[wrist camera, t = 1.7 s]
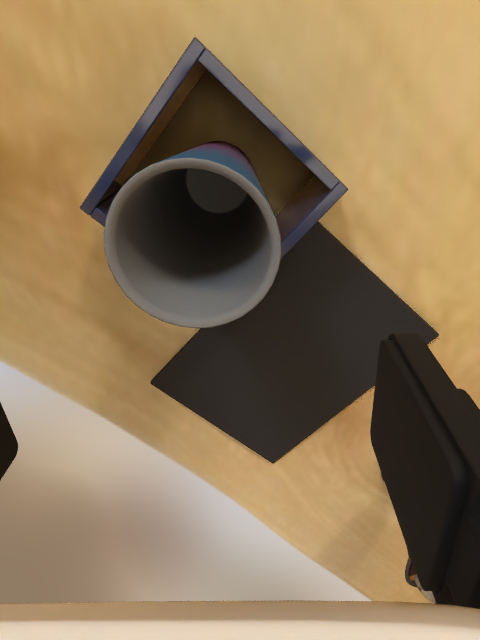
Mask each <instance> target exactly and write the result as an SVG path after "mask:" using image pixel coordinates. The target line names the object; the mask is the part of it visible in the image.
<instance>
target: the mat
mask: <svg viewBox="0 0 480 640" xmlns="http://www.w3.org/2000/svg"><path fill="white" fill-rule="evenodd" d="M409 332H417V333H418V334H419V335H420V336H421V338H422V339H423V341H424V342H425V344H426V345H427V344H428V343H430V342H431V341H432V340H434V339H435V338H436V337H437V336H439V334H438V333H437V332H436V331H435V330H434V329H433V328H432V327H431V326H430V325H428V324H427V323H426V322H425V321H424V320H423V319H422V318H421V317H420V316H419V315H418V314H417V313H416V312H414V311H413V310H412V309H411V308H410V307H409V306H408V305H407V304H406V303H405V302H404V301H403V300H402V299H401V298H399V297H398V296H397V295H396V294H395V293H394V292H393V291H392V290H391V289H390V288H389V287H388V286H387V285H385V284H384V283H383V282H382V281H381V280H380V279H379V278H378V277H377V276H376V275H375V274H374V273H373V272H372V271H370V270H369V269H368V268H367V267H366V266H365V265H364V264H363V263H362V262H361V261H360V260H359V259H358V258H356V257H355V256H354V255H353V254H352V253H351V252H350V251H349V250H348V249H347V248H346V247H345V246H344V245H343V244H341V243H340V242H339V241H338V240H337V239H336V238H335V237H334V236H333V235H332V234H331V233H330V232H329V231H327V230H326V229H325V228H324V227H323V226H322V225H321V224H320V223H319V222H318V221H317V222H316V223H315V224H314V225H313V227H312V228H311V229H310V230H309V231H308V232H307V233H306V234H305V235H304V236H303V237H302V238H301V239H300V240H299V241H298V242H297V243H296V244H295V245H294V246H293V247H292V248H291V249H290V250H289V251H288V252H287V253H286V254H285V255H284V256H283V257H282V258H281V260H280V263H279V269H278V272H277V274H276V277H275V280H274V282H273V284H272V286H271V287H270V289H269V291H268V292H267V294H266V295H265V297H264V298H263V299H262V300H261V301H260V302H259V303H258V304H257V305H256V306H255V307H254V308H253V309H252V310H250V311H249V312H247V313H246V314H245V315H243V316H242V317H240V318H238V319H236V320H233V321H231V322H229V323H226V324H222V325H219V326H215V327H207V328H201V329H200V330H199V331H198V332H197V333H196V334H195V335H194V336H193V337H192V339H191V340H190V341H189V342H188V343H187V344H186V345H185V346H184V347H183V348H182V349H181V350H180V351H179V352H178V353H177V354H176V355H175V356H174V357H173V358H172V360H171V361H170V362H169V363H168V364H167V365H166V366H165V367H164V368H163V369H162V370H161V371H160V372H159V373H158V374H157V375H156V376H155V377H154V378H153V379H152V381H151V384H152V385H154V386H155V387H157V388H158V389H160V390H161V391H163V392H164V393H166V394H167V395H169V396H170V397H172V398H173V399H175V400H176V401H178V402H180V403H181V404H183V405H184V406H186V407H187V408H189V409H190V410H192V411H193V412H195V413H196V414H198V415H199V416H201V417H202V418H204V419H206V420H207V421H209V422H210V423H212V424H213V425H215V426H216V427H218V428H219V429H221V430H222V431H224V432H225V433H227V434H228V435H230V436H232V437H233V438H235V439H236V440H238V441H239V442H241V443H242V444H244V445H245V446H247V447H248V448H250V449H251V450H253V451H254V452H256V453H258V454H259V455H261V456H262V457H264V458H265V459H267V460H268V461H270V462H271V463H275V462H276V461H277V460H278V459H280V458H281V457H282V456H284V455H285V454H286V453H288V452H289V451H290V450H291V449H293V448H294V447H295V446H297V445H298V444H299V443H300V442H302V441H303V440H304V439H306V438H307V437H308V436H309V435H311V434H312V433H313V432H315V431H316V430H317V429H319V428H320V427H321V426H322V425H324V424H325V423H326V422H328V421H329V420H330V419H331V418H333V417H334V416H335V415H337V414H338V413H339V412H341V411H342V410H343V409H344V408H346V407H347V406H348V405H350V404H351V403H352V402H353V401H355V400H356V399H357V398H359V397H360V396H361V395H362V394H364V393H365V392H366V391H368V390H369V389H370V388H372V387H373V386H374V385H375V382H376V373H377V364H378V354H379V346H380V342H381V341H382V340H388V337H389V335H390V334H391V333H409Z"/></svg>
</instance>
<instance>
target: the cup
mask: <svg viewBox="0 0 480 640" xmlns="http://www.w3.org/2000/svg"><path fill="white" fill-rule="evenodd" d="M104 246H105V253H106V257H107V261H108V265H109V268H110V270H111V272H112V274H113V276H114V278H115V280H116V282H117V284H118V285H119V286H120V288H121V289H122V291H123V292H124V293H125V295H126V296H127V297H128V298H129V299H130V300H131V301H132V302H133V303H134V304H135V305H136V306H138V307H139V308H140V309H142V310H143V311H145V312H146V313H148V314H149V315H151V316H153V317H155V318H157V319H159V320H161V321H163V322H166V323H169V324H173V325H177V326H180V327H189V328H207V327H215V326H219V325H222V324H226V323H229V322H231V321H233V320H236V319H238V318H240V317H242V316H243V315H245V314H246V313H247V312H249V311H250V310H252V309H253V308H254V307H255V306H256V305H257V304H258V303H259V302H260V301H261V300H262V299H263V298H264V297H265V295H266V294H267V292H268V291H269V289H270V287H271V286H272V284H273V282H274V280H275V277H276V274H277V272H278V269H279V263H280V257H281V238H280V232H279V228H278V224H277V220H276V217H275V215H274V213H273V211H272V209H271V206H270V204H269V202H268V200H267V198H266V195H265V193H264V191H263V189H262V187H261V184H260V182H259V180H258V178H257V176H256V174H255V171H254V169H253V167H252V165H251V163H250V161H249V159H248V157H247V156H246V155H245V153H244V152H242V151H241V150H240V149H239V148H238V147H236V146H234V145H233V144H230V143H227V142H222V141H213V142H208V143H205V144H202V145H200V146H197V147H195V148H192V149H190V150H187V151H184V152H182V153H179V154H177V155H174V156H172V157H169V158H167V159H164V160H162V161H159V162H157V163H154V164H152V165H150V166H148V167H146V168H145V169H143V170H141V171H140V172H138V173H136V174H135V175H134V176H133V177H132V178H131V179H129V180H128V181H127V182H126V183H125V184H124V185H123V186H122V187H121V189H120V190H119V192H118V193H117V195H116V196H115V198H114V199H113V201H112V204H111V206H110V209H109V211H108V214H107V217H106V223H105V229H104Z"/></svg>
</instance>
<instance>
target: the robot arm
mask: <svg viewBox="0 0 480 640" xmlns="http://www.w3.org/2000/svg"><path fill="white" fill-rule="evenodd" d="M370 434H371V442H372V446H373V449H374V452H375V455H376V458H377V461H378V463H379V466H380V469H381V472H382V475H383V478H384V481H385V484H386V487H387V490H388V493H389V496H390V498H391V501H392V504H393V507H394V510H395V513H396V516H397V519H398V522H399V525H400V528H401V531H402V533H403V536H404V539H405V542H406V545H407V548H408V551H409V554H410V557H411V560H412V563H413V566H414V568H415V571H416V574H417V577H418V580H419V583H420V585H421V587H422V589H423V590H424V591H432V593H433V596H434V599H435V602H436V604H427V603H410V602H377V601H184V602H183V601H173V602H172V601H171V602H81V603H80V602H77V603H7V604H6V603H2V604H0V640H480V410H479V408H478V407H477V405H476V404H475V403H474V401H473V400H472V399H471V397H470V396H469V395H468V394H467V392H466V391H465V390H462V389H457V388H456V387H455V385H454V384H453V382H452V381H451V380H450V378H449V377H448V375H447V374H446V372H445V371H444V369H443V368H442V367H441V365H440V364H439V362H438V361H437V359H436V358H435V357H434V355H433V354H432V352H431V351H430V349H429V348H428V346H427V345H426V344H425V342H424V341H423V339H422V338H421V336H420V335H419V334H418V333H417V332H409V333H391V334H390V335H389V337H388V340H382V341H381V342H380V346H379V354H378V364H377V373H376V382H375V392H374V401H373V410H372V420H371V430H370ZM17 451H18V443H17V440H16V437H15V435H14V433H13V431H12V428H11V426H10V424H9V422H8V419H7V417H6V415H5V412H4V410H3V408H2V405H1V403H0V480H1V478H2V477H3V475H4V474H5V472H6V470H7V469H8V468H9V466H10V464H11V463H12V461H13V460H14V458H15V456H16V454H17Z"/></svg>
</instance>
